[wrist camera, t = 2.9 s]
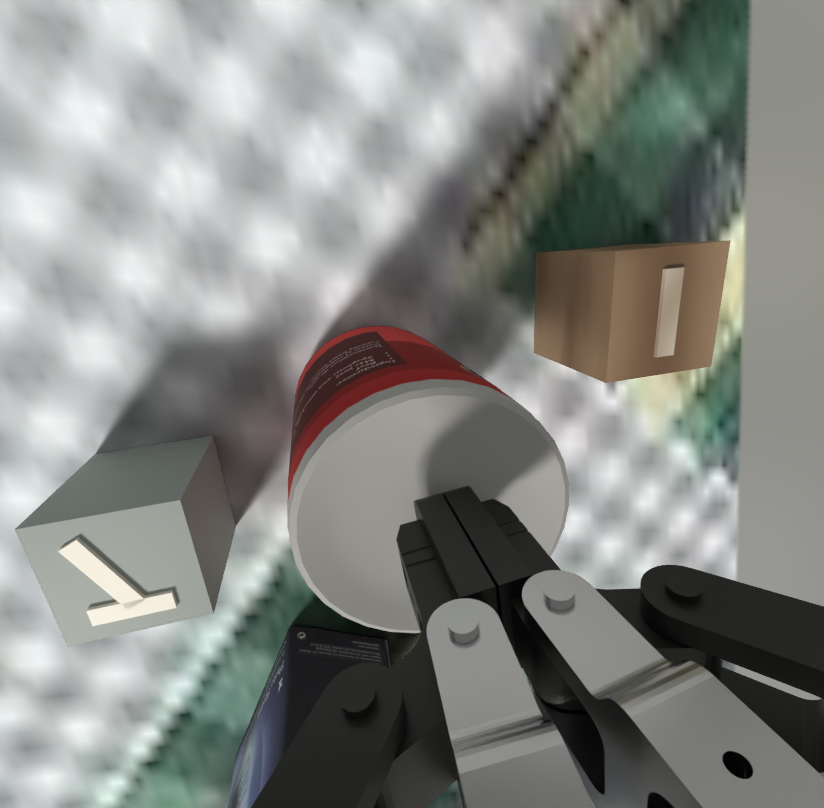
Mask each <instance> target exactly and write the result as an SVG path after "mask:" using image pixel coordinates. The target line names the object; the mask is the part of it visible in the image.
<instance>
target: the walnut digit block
mask: <svg viewBox="0 0 824 808" xmlns="http://www.w3.org/2000/svg"><path fill="white" fill-rule="evenodd" d="M729 246H730V241H707V242H680V243H654V244H627V245H615V246H604V247H593V248H582V249H571V250H560V251H549V252H538V253H536V257H535V329H534V353H536V354H538V355H541V356H543V357H545V358H548V359H550V360H553V361H555V362H557V363H560V364H562V365H565V366H567V367H569V368H572V369H574V370H577V371H579V372H581V373H584V374H586V375H589V376H591V377H593V378H596V379H598V380H601V381H603V382H605V383H608V382H615V381H621V380H627V379H634V378H640V377H646V376H653V375H659V374H665V373H672V372H678V371H684V370H691V369H697V368H703V367H710V366H711V362H712V356H713V349H714V343H715V336H716V330H717V324H718V317H719V311H720V304H721V298H722V291H723V285H724V278H725V272H726V265H727V259H728V252H729Z"/></svg>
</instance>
